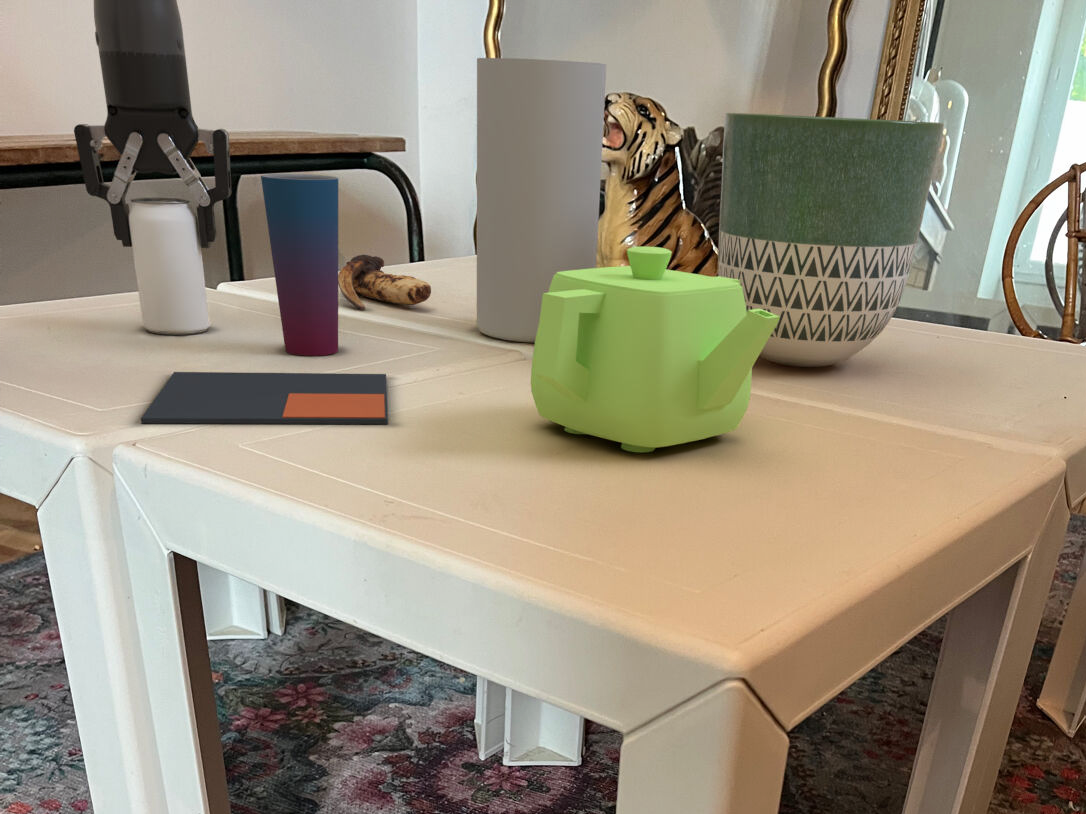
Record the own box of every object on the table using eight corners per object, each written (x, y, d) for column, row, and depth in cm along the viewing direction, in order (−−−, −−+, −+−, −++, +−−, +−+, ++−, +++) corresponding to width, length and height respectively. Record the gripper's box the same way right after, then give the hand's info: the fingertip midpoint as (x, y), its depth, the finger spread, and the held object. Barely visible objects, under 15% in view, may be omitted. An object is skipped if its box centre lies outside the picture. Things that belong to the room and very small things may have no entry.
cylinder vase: (603, 328, 125) (618, 66, 112) (577, 348, 114) (590, 61, 102) (496, 319, 127) (498, 61, 115) (461, 338, 117) (459, 56, 104)
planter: (937, 382, 107) (989, 125, 96) (750, 386, 102) (783, 116, 91) (838, 342, 123) (873, 119, 112) (673, 345, 118) (693, 111, 107)
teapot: (834, 444, 85) (864, 259, 79) (656, 492, 73) (674, 276, 66) (655, 397, 96) (668, 231, 90) (475, 431, 84) (475, 242, 78)
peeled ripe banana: (306, 297, 138) (378, 316, 126) (302, 256, 136) (375, 271, 124) (373, 290, 143) (449, 308, 131) (370, 250, 141) (446, 264, 128)
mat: (141, 423, 83) (140, 416, 82) (174, 376, 96) (173, 370, 96) (387, 424, 85) (387, 417, 85) (386, 378, 99) (386, 372, 99)
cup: (362, 350, 109) (354, 178, 102) (315, 360, 104) (302, 180, 97) (308, 341, 112) (297, 173, 105) (260, 351, 107) (244, 175, 99)
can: (131, 332, 113) (111, 199, 106) (165, 322, 118) (148, 195, 112) (189, 337, 111) (173, 203, 105) (221, 327, 117) (208, 199, 111)
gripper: (227, 54, 107) (245, 244, 115) (69, 47, 105) (99, 240, 113) (218, 52, 100) (238, 253, 109) (48, 44, 98) (82, 249, 107)
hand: (167, 246), depth 111 cm, fingers open, 7 cm apart
